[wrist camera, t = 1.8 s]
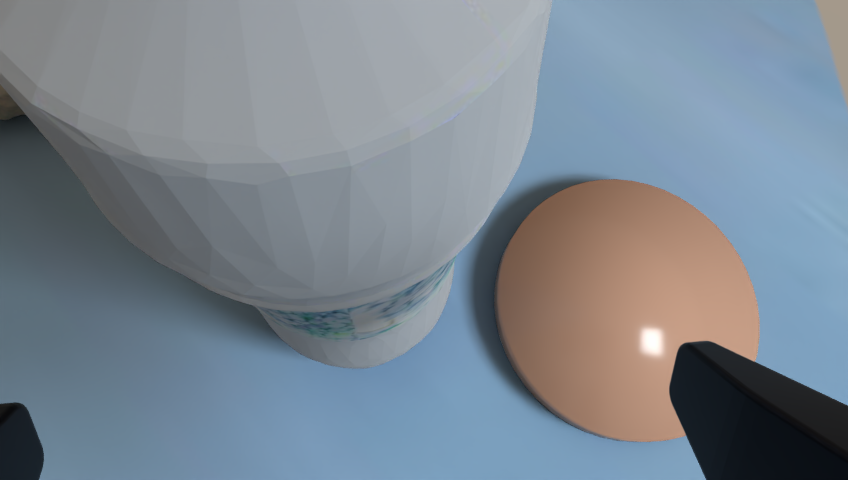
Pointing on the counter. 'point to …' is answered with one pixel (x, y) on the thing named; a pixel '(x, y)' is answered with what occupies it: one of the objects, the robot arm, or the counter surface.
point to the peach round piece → (618, 304)
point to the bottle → (290, 144)
